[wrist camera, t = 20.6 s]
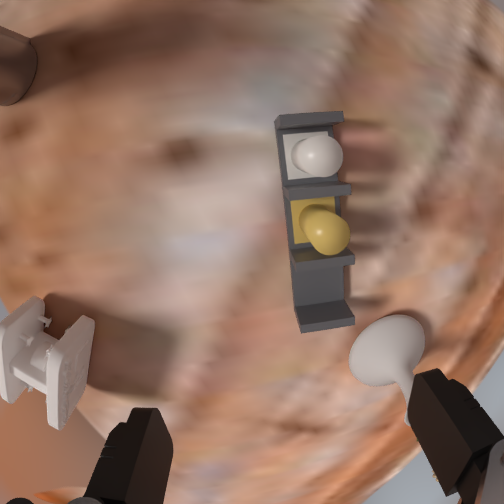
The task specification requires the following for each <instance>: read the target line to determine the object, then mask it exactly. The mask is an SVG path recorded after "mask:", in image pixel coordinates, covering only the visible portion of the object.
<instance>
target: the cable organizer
mask: <svg viewBox="0 0 504 504" xmlns="http://www.w3.org/2000/svg"><path fill="white" fill-rule="evenodd" d="M44 314H45V303H44V301H43V300H42V299H40V298H38V297H36V296H33V297H31V298H30V299H29V300H27V301H26V302H25V303H23V304H22V305H21V306H20V307H18V308H17V309H16V310H15V311H13V312H12V313H11V314H10V315H8V316H7V317H6V318H5V319H4V320H2V321H1V323H0V394H1V397H2V398H3V399H4V400H6V401H7V402H8V403H10V404H12V403H14V402H15V401H16V399H17V398H18V397H19V396H20V394H21V393H22V392H23V390H24V389H25V388H26V387H27V388H29V390H28V391H30V390H31V391H32V389H33V387H34V388H36V389H37V390H39V391H41V392H43V393H45V394H46V395H47V397H46V398H47V399H46V402H47V414H48V424H49V425H50V426H52V427H54V428H56V429H58V430H62V429H63V427H64V426H65V424H66V422H67V420H68V419H69V417H70V415H71V413H72V412H73V410H74V408H75V407H76V405H77V403H78V402H79V400H80V398H81V396H82V395H83V393H84V390H85V387H86V383H87V376H88V369H89V361H90V354H91V348H92V342H93V336H94V330H95V321H94V320H93V319H91V318H89V317H87V316H85V315H82V316H81V317H80V318H79V319H78V320H77V321H76V322H75V323H74V324H73V325H72V326H71V328H69V327H70V325H69V327H68V328H67V329H66V330H65V334H64V335H63V336H62V338H61V339H60V340H58V339H56V338H54V337H52V336H50V335H48V334H46V333H45V332H43V328H44V323H46V326H45V327H49V324H50V323H51V321H52V320H51V317H50V319H47V318H45V317H44Z"/></svg>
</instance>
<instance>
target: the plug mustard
mask: <svg viewBox="0 0 504 504" xmlns="http://www.w3.org/2000/svg"><path fill="white" fill-rule="evenodd" d="M299 226H300V228H301V230H302V231H303V233H304V234H305V235H306V237H307V238H308V239H309V241H310V242H311V244H312V245H313V246H314V248H315V249H316V250H317V251H318V252H320V253H322V254H324V255H335V254H338V253H340V252H341V251H342V250H344V249H345V247H346V246H347V245H348V243H349V240H350V229H349V226H348V224H347V223H346V221H345V220H344V219H342V218H341V217H339V216H338V215H336V214H335V213H333V212H332V211H330V210H329V209H327V208H326V207H324V206H322V205H320V204H310V205H308V206H306V207H305V208H304V209H303V210H302V211H301V213H300V215H299Z"/></svg>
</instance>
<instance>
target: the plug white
mask: <svg viewBox="0 0 504 504" xmlns="http://www.w3.org/2000/svg"><path fill="white" fill-rule="evenodd" d="M291 161H292V163H293V165H294V166H295V167H296V168H297V169H298V170H299V171H302V172H305V173H308V174H311V175H314V176H318V177H328V176H331V175H333V174H335V173H336V172H337V171H338V170H339V169H340V167H341V165H342V162H343V151H342V148H341V146H340V145H339V143H338V142H337V141H336V140H335V139H333V138H331V137H329V136H326V135H318V136H314V137H310V138H306V139H303V140H300V141H298V142H297V143H296V144H295V145H294V146H293V148H292V150H291Z"/></svg>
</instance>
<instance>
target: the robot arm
mask: <svg viewBox="0 0 504 504" xmlns="http://www.w3.org/2000/svg"><path fill="white" fill-rule="evenodd" d="M36 67H37V56H36V52H35V50H34V48H33V47H32V46H31V45H30V38H28V37H26V36H23V35H21V34H18V33H16V32H14V31H11V30H9V29H6V28H4V27H1V26H0V106H8V105H11V104H13V103H15V102H16V101H18V100H19V99H20V98H21V97H22V96H23V95H24V94H25V92H26V91H27V90H28V88H29V86H30V85H31V83H32V80H33V78H34V75H35V72H36ZM407 415H408V421H409V424H410V426H411V428H412V430H413V431H414V433H415V435H416V437H417V439H418V441H419V443H420V445H421V447H422V449H423V451H424V453H425V455H426V457H427V459H428V461H429V463H430V465H431V467H432V469H433V471H434V473H435V475H436V477H437V479H438V481H439V483H440V485H441V487H442V489H443V491H444V493H445V495H446V497H447V496H449V495H451V494H454V493H456V492H458V493H459V495H460V497H461V498H460V499H459V501H458V504H504V436H503V434H502V433H501V432H500V430H499V429H498V428H497V426H496V425H495V424H494V422H493V421H492V420H491V418H490V417H489V416H488V414H487V413H486V412H485V410H484V409H483V408H482V407H480V404H479V403H478V401H477V400H476V399H474V396H473V395H472V394H471V392H470V391H469V390H468V389H467V387H466V386H464V385H463V384H461V383H459V382H458V381H456V380H454V379H451V380H448V379H447V378H446V377H445V375H444V374H443V373H442V371H441V370H440V369H438V368H436V369H432V370H429V371H426V372H422V373H419V374H416V375H415V377H414V380H413V385H412V390H411V394H410V399H409V403H408V408H407ZM100 456H101V458H99V460H98V462H97V464H96V467H95V470H94V472H93V474H92V477H91V480H90V482H89V485H88V487H87V490H86V492H85V494H84V496H83V497H80V498H76V499H74V500H72V501H70V502H69V503H68V504H163V501H164V496H165V491H166V487H167V482H168V477H169V472H170V467H171V462H172V458H173V443H172V439H171V436H170V434H169V432H168V430H167V427H166V425H165V423H164V420H163V418H162V416H161V413H160V411H159V410H158V408H133V409H132V411H131V413H130V415H129V418H128V420H127V423H124V422H120V423H119V424H118V425H117V426H116V427H115V428H114V429H113V430H112V431H111V432H110V433H109V436H108V438H107V440H106V443H105V448H103V450H102V452H101V455H100ZM7 504H33V503H32V502H31V501H30V500H28V499H25V498H15V499H12V500H10V501H9V502H8V503H7Z"/></svg>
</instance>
